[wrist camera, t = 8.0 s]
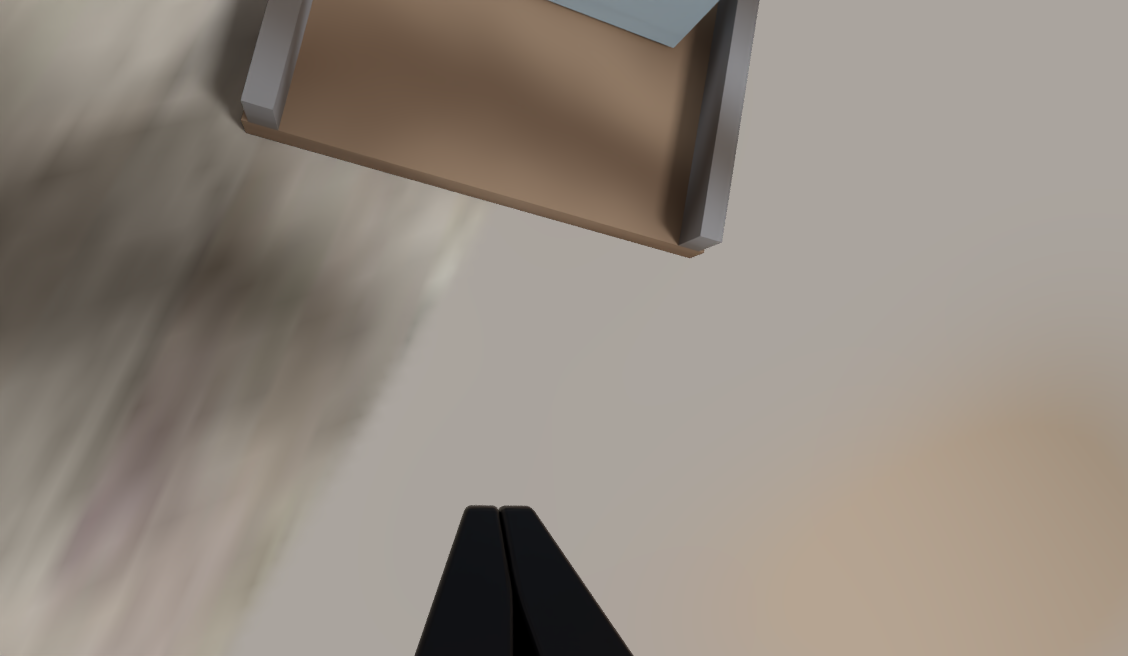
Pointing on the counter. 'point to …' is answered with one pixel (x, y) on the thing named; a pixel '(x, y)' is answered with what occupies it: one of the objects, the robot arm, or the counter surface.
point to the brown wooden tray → (516, 106)
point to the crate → (646, 16)
